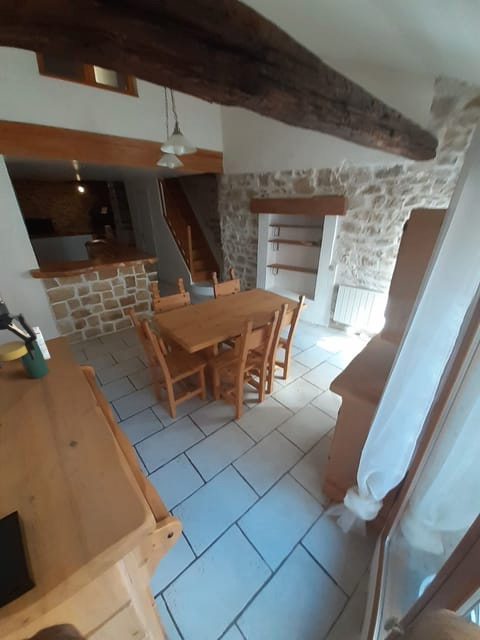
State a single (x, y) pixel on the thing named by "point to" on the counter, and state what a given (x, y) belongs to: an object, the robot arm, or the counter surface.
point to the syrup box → (40, 342)
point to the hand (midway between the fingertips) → (17, 362)
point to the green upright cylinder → (34, 363)
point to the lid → (12, 350)
